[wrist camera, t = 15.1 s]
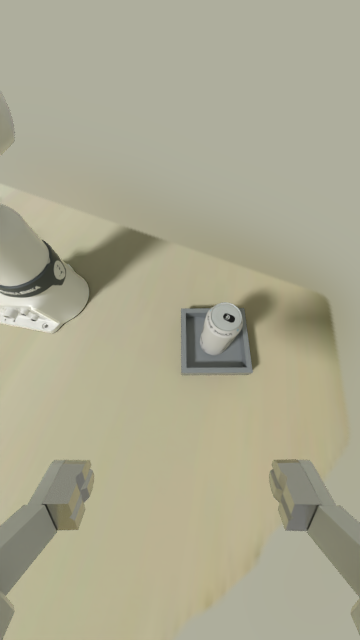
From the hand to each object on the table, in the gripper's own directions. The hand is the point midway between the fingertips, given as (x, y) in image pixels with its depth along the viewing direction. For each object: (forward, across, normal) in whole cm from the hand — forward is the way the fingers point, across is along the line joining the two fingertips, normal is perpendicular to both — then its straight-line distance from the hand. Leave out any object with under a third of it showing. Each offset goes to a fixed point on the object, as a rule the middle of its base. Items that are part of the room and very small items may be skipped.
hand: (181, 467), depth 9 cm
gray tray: (+35, -7, +13) cm, 38 cm away
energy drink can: (+34, -7, +13) cm, 38 cm away
